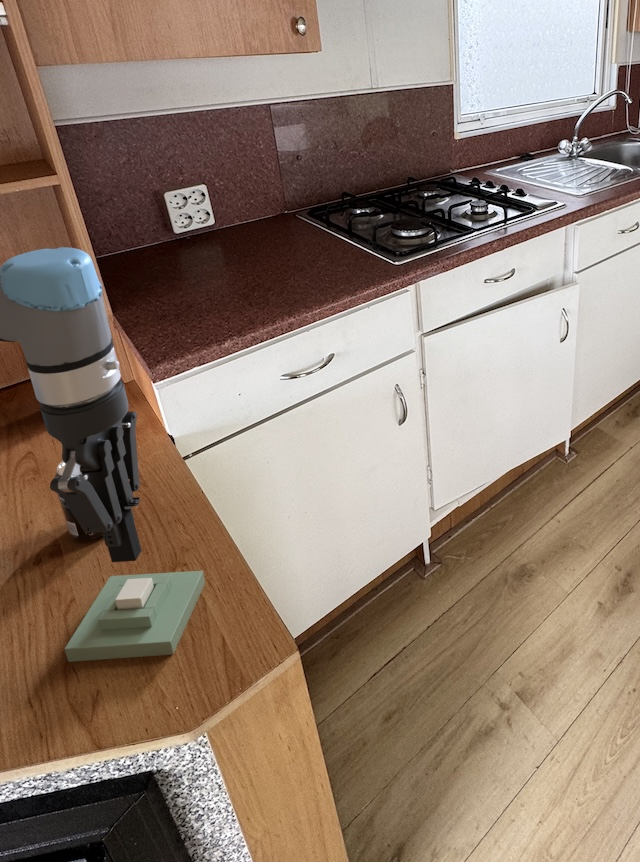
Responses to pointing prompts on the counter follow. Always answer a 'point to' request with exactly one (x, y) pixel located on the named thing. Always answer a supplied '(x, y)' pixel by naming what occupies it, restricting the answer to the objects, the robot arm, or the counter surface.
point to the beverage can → (70, 519)
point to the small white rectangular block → (134, 594)
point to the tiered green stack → (137, 619)
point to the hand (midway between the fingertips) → (126, 556)
